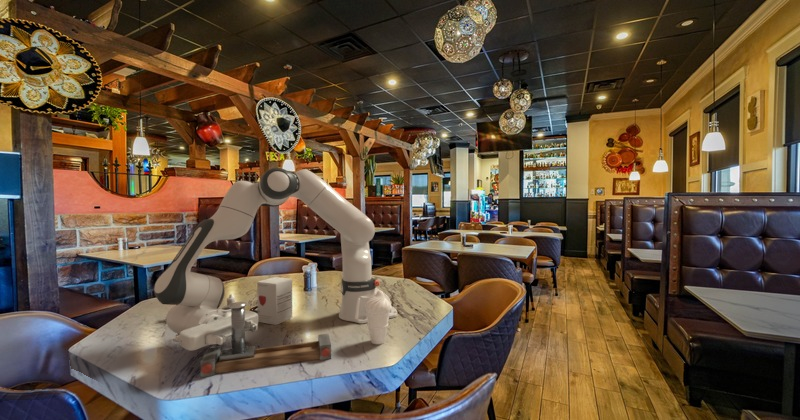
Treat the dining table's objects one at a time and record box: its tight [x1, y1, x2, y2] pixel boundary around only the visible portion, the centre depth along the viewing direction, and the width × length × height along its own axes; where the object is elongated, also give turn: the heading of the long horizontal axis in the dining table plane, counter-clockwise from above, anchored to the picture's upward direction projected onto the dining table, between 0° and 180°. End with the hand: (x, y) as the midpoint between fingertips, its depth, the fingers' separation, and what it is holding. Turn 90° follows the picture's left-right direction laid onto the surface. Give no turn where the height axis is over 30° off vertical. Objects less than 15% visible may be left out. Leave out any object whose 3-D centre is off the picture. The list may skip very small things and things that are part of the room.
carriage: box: [220, 301, 257, 362], centre depth 88 cm, size 8×4×15 cm, turn 107°
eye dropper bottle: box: [222, 293, 236, 308], centre depth 113 cm, size 4×6×12 cm
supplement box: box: [256, 276, 293, 326], centre depth 122 cm, size 9×9×15 cm
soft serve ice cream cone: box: [364, 289, 392, 345], centre depth 102 cm, size 8×8×16 cm
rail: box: [199, 333, 332, 378], centre depth 90 cm, size 32×8×4 cm, turn 107°
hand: (240, 333), depth 87 cm, fingers open, 8 cm apart
